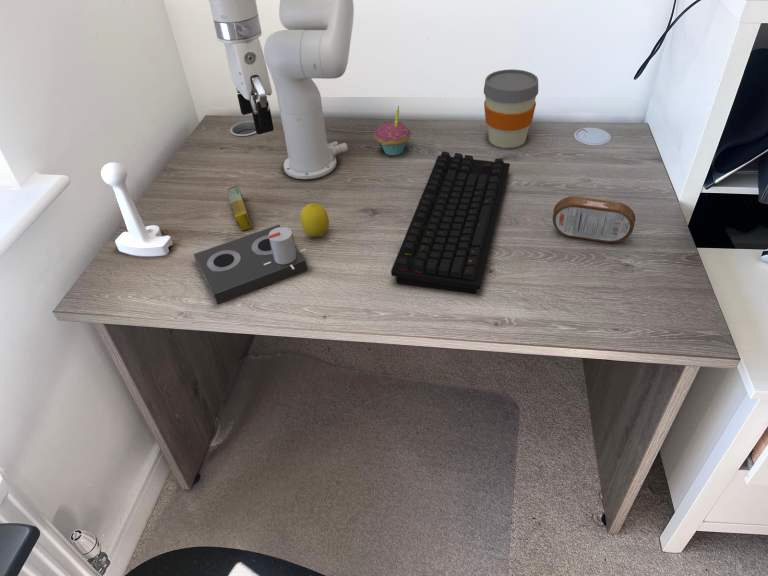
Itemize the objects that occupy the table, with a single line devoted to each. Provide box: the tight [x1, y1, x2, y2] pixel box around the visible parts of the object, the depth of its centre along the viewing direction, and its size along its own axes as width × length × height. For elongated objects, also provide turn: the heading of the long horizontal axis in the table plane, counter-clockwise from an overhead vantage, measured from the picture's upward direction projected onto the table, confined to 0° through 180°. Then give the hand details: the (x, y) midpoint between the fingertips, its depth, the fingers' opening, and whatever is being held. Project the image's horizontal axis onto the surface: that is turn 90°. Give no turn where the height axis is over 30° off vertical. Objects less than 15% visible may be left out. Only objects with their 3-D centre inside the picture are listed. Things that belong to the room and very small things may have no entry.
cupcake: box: [374, 105, 412, 156], centre depth 147 cm, size 9×8×12 cm
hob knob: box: [268, 226, 297, 264], centre depth 116 cm, size 4×4×6 cm
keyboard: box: [390, 150, 511, 295], centre depth 125 cm, size 42×16×5 cm, turn 165°
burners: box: [207, 235, 272, 272], centre depth 120 cm, size 15×6×1 cm, turn 118°
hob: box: [193, 224, 308, 305], centre depth 119 cm, size 19×15×3 cm
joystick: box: [100, 161, 174, 257], centre depth 122 cm, size 11×8×20 cm
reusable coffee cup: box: [483, 68, 539, 149], centre depth 147 cm, size 12×13×15 cm
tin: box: [552, 195, 636, 244], centre depth 118 cm, size 15×3×8 cm, turn 71°
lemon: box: [300, 202, 330, 238], centre depth 124 cm, size 6×6×8 cm
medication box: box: [226, 185, 253, 232], centre depth 132 cm, size 12×3×4 cm, turn 19°
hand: (257, 122), depth 115 cm, fingers open, 9 cm apart
